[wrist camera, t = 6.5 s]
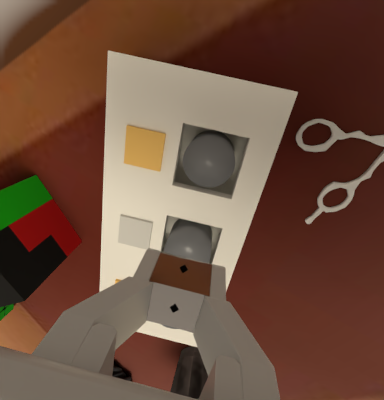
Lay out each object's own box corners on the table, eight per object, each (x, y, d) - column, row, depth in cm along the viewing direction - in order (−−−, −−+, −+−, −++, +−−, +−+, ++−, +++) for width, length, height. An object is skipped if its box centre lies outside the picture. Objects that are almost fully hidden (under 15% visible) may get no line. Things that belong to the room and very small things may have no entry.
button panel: (282, 92, 21) (299, 91, 16) (207, 315, 34) (204, 351, 29) (132, 59, 21) (106, 49, 17) (115, 291, 34) (97, 323, 30)
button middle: (216, 221, 24) (215, 240, 21) (207, 254, 26) (204, 277, 23) (175, 211, 24) (167, 229, 21) (168, 245, 26) (160, 266, 23)
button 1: (239, 135, 22) (241, 142, 18) (227, 179, 24) (227, 192, 20) (193, 125, 22) (187, 130, 19) (184, 169, 24) (178, 181, 21)
